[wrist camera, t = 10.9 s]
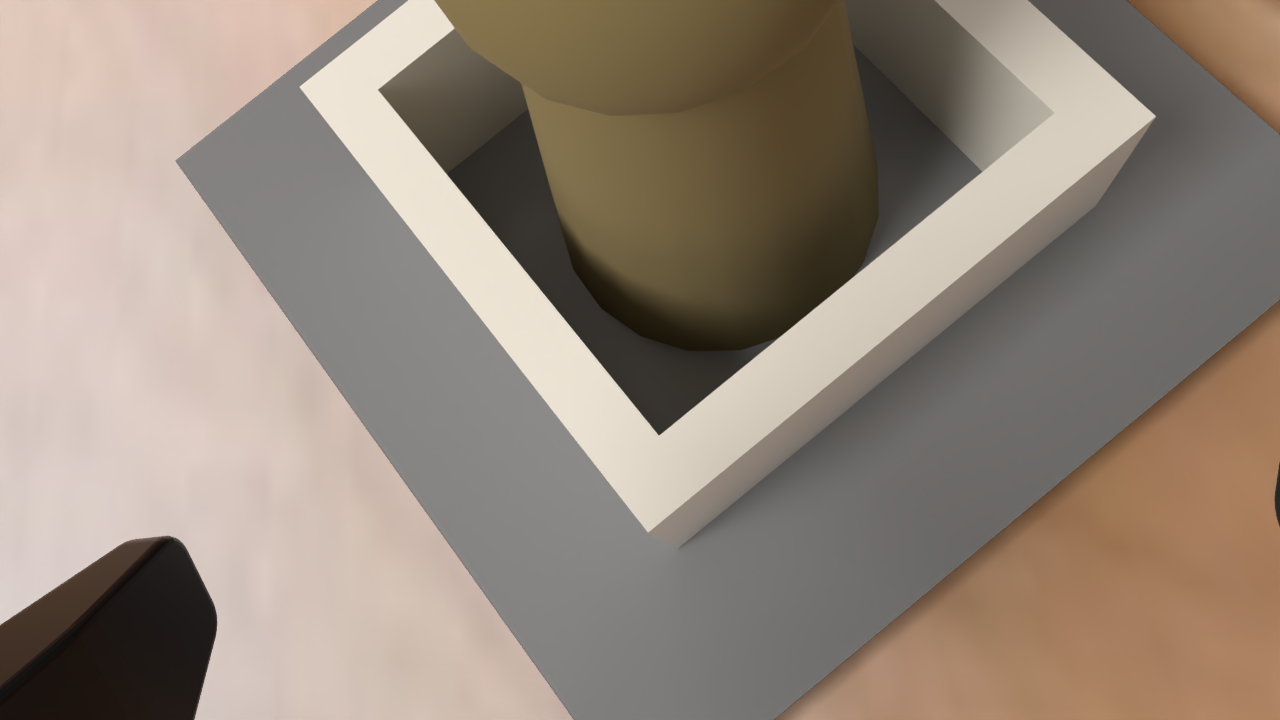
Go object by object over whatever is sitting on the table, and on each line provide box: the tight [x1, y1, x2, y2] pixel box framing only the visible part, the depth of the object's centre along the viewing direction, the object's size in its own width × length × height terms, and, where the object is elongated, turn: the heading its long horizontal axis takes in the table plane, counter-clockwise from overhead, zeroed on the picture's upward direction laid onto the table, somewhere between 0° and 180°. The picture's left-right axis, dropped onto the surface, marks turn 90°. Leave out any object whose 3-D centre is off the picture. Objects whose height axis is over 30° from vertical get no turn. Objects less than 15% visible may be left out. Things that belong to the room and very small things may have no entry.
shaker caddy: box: [176, 0, 1280, 720], centre depth 19 cm, size 16×16×4 cm
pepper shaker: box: [434, 0, 879, 351], centre depth 15 cm, size 6×6×11 cm
